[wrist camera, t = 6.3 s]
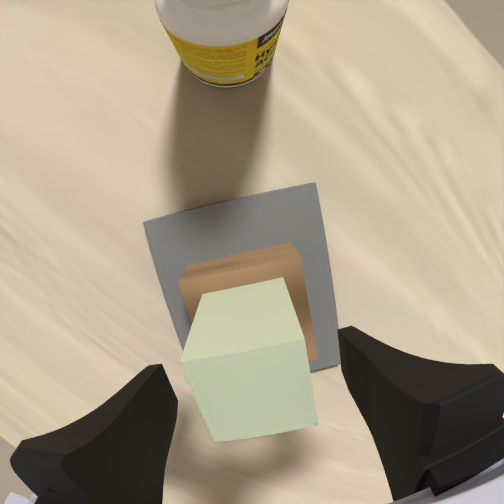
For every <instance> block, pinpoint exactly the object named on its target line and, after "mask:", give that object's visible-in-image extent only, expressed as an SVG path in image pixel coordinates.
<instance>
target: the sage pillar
mask: <svg viewBox="0 0 504 504" xmlns="http://www.w3.org/2000/svg"><path fill="white" fill-rule="evenodd" d="M180 363H181V366H182V369H183V371H184V374H185V376H186V379H187V381H188V384H189V386H190V388H191V391H192V393H193V396H194V398H195V400H196V403H197V405H198V407H199V410H200V412H201V414H202V417H203V419H204V421H205V423H206V426H207V428H208V430H209V432H210V434H211V436H212V439H213V441H214V442H221V441H230V440H238V439H246V438H253V437H259V436H265V435H271V434H277V433H282V432H287V431H292V430H297V429H302V428H307V427H311V426H315V425H318V421H317V414H316V407H315V400H314V394H313V387H312V381H311V374H310V368H309V362H308V356H307V350H306V344H305V338H304V335H303V332H302V329H301V327H300V324H299V321H298V318H297V315H296V312H295V309H294V307H293V304H292V301H291V298H290V295H289V292H288V290H287V287H286V284H285V281H284V278H283V277H282V278H277V279H273V280H268V281H263V282H259V283H254V284H249V285H244V286H240V287H235V288H230V289H225V290H220V291H215V292H210V293H205V294H202V297H201V300H200V303H199V305H198V308H197V311H196V314H195V317H194V320H193V323H192V326H191V329H190V332H189V335H188V338H187V341H186V344H185V347H184V350H183V353H182V356H181V360H180Z"/></svg>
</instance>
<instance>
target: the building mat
mask: <svg viewBox="0 0 504 504" xmlns="http://www.w3.org/2000/svg"><path fill="white" fill-rule="evenodd" d="M143 224H144V228H145V232H146V236H147V239H148V243H149V246H150V250H151V253H152V257H153V260H154V264H155V267H156V270H157V274H158V277H159V280H160V283H161V286H162V290H163V293H164V296H165V299H166V302H167V305H168V308H169V311H170V314H171V317H172V320H173V323H174V326H175V329H176V332H177V334H178V337H179V340H180V343H181V345H182V348H183V350H184V347H185V344H186V341H187V338H188V335H189V332H190V329H191V326H192V324H191V321H190V318H189V315H188V312H187V308H186V305H185V302H184V299H183V296H182V292H181V289H180V286H179V280H180V278H181V277H182V275H183V273H184V272H185V270H186V268H187V267H188V265H190V264H194V263H199V262H203V261H208V260H212V259H217V258H222V257H226V256H231V255H235V254H240V253H244V252H249V251H253V250H258V249H263V248H267V247H272V246H276V245H281V244H285V243H290V242H292V244H293V245H294V247H295V248H296V250H297V251H298V253H299V255H300V257H301V263H302V268H303V274H304V279H305V285H306V291H307V297H308V303H309V309H310V315H311V321H312V327H313V333H314V340H315V346H316V353H317V359H316V360H312V361H308V362H309V368H310V371H314V370H318V369H323V368H327V367H330V366H334V365H338V364H341V360H340V350H339V341H338V332H337V330H338V329H339V328H338V320H337V312H336V304H335V296H334V289H333V282H332V275H331V268H330V262H329V255H328V249H327V243H326V237H325V231H324V225H323V219H322V214H321V208H320V203H319V198H318V192H317V187H316V183H309V184H304V185H299V186H294V187H289V188H284V189H279V190H274V191H270V192H265V193H260V194H256V195H251V196H247V197H242V198H238V199H233V200H229V201H225V202H220V203H216V204H212V205H208V206H204V207H199V208H195V209H191V210H187V211H183V212H179V213H175V214H171V215H167V216H164V217H160V218H156V219H152V220H148V221H145V222H143Z"/></svg>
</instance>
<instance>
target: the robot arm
mask: <svg viewBox="0 0 504 504" xmlns="http://www.w3.org/2000/svg"><path fill="white" fill-rule="evenodd" d="M337 332H338V341H339V350H340V360H341V370H342V373H343V376H344V379H345V381H346V384H347V387H348V389H349V391H350V393H351V395H352V397H353V399H354V401H355V403H356V405H357V407H358V408H359V410H360V412H361V414H362V416H363V418H364V420H365V422H366V424H367V425H368V427H369V429H370V432H371V434H372V436H373V439H374V442H375V444H376V447H377V450H378V453H379V455H380V458H381V461H382V464H383V467H384V470H385V474H386V477H387V480H388V483H389V487H390V490H391V494H392V498H393V501H394V502H392V503H389V504H504V418H503V417H502V416H503V413H504V373H503V372H502V371H500V370H499V369H498V368H497V367H496V366H495V365H494V364H454V363H445V362H439V361H434V360H429V359H425V358H421V357H418V356H414V355H411V354H408V353H405V352H403V351H400V350H398V349H395V348H393V347H391V346H389V345H386V344H384V343H382V342H380V341H378V340H376V339H375V338H373V337H371V336H369V335H367V334H366V333H364V332H362V331H360V330H359V329H357V328H355V327H353V326H349V327H346V328H342V329H338V330H337ZM177 407H178V400H177V397H176V395H175V393H174V391H173V389H172V386H171V384H170V382H169V379H168V377H167V375H166V372H165V370H164V368H163V365H162V364H156V365H149V366H147V367H146V368H145V369H143V370H142V371H141V372H140V373H139V374H137V375H136V376H135V377H134V378H133V379H132V380H131V381H130V382H129V383H127V384H126V385H125V386H124V387H123V388H122V389H121V390H119V391H118V392H117V393H116V394H115V395H113V396H112V397H111V398H110V399H108V400H107V401H106V402H105V403H103V404H102V405H101V406H99V407H98V408H97V409H95V410H94V411H92V412H90V413H89V414H87V415H86V416H84V417H82V418H80V419H79V420H77V421H75V422H73V423H71V424H69V425H67V426H65V427H63V428H60V429H58V430H55V431H53V432H50V433H47V434H44V435H41V436H37V437H34V438H30V439H26V440H22V441H21V443H20V444H19V446H18V447H17V449H16V450H15V452H14V453H13V455H12V456H11V458H10V463H11V466H12V468H13V470H14V471H15V473H16V474H17V475H18V477H19V478H20V479H21V480H22V481H23V482H24V483H25V484H26V485H27V486H28V487H29V488H30V490H31V491H33V494H32V496H31V498H30V499H29V498H27V497H24V496H21V495H19V494H16V493H13V492H11V493H10V494H9V496H8V497H7V499H6V501H5V503H4V504H162V499H163V483H164V472H165V465H166V460H167V456H168V452H169V448H170V444H171V440H172V436H173V432H174V428H175V424H176V418H177Z"/></svg>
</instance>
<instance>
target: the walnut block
mask: <svg viewBox="0 0 504 504" xmlns="http://www.w3.org/2000/svg"><path fill="white" fill-rule="evenodd" d="M282 277H283V278H284V281H285V284H286V287H287V290H288V292H289V295H290V298H291V301H292V304H293V307H294V309H295V312H296V315H297V318H298V321H299V324H300V327H301V329H302V332H303V335H304V338H305V344H306V350H307V356H308V361H312V360H316V359H317V353H316V346H315V340H314V333H313V327H312V321H311V315H310V309H309V303H308V297H307V291H306V285H305V279H304V274H303V268H302V263H301V257H300V255H299V253H298V251H297V250H296V248H295V247H294V245H293V244H292V242H290V243H285V244H281V245H276V246H272V247H267V248H263V249H258V250H253V251H249V252H244V253H240V254H235V255H231V256H226V257H222V258H217V259H212V260H208V261H203V262H199V263H194V264H190V265H188V267H187V268H186V270H185V272H184V273H183V275H182V277H181V278H180V280H179V286H180V289H181V292H182V296H183V299H184V302H185V305H186V308H187V312H188V315H189V318H190V321H191V324H192V323H193V320H194V317H195V314H196V311H197V308H198V305H199V303H200V300H201V297H202V294H205V293H210V292H215V291H220V290H225V289H230V288H235V287H240V286H244V285H249V284H254V283H259V282H263V281H268V280H273V279H277V278H282Z"/></svg>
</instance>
